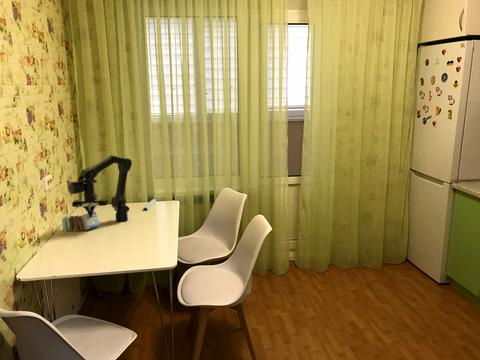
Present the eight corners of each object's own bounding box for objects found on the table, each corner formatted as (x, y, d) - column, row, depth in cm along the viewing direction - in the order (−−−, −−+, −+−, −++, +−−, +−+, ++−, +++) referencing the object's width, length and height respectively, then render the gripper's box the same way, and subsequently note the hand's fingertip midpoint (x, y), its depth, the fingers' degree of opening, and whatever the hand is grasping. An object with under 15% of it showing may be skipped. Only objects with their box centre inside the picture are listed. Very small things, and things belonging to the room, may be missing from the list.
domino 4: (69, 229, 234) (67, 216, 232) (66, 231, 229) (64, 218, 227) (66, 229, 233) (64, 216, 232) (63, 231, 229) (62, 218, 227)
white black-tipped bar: (147, 212, 268) (147, 207, 267) (138, 212, 268) (137, 207, 267) (156, 203, 290) (156, 199, 289) (147, 203, 290) (147, 199, 289)
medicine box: (88, 228, 228) (83, 214, 229) (84, 230, 231) (80, 216, 231) (100, 225, 234) (95, 211, 235) (96, 226, 237) (92, 213, 237)
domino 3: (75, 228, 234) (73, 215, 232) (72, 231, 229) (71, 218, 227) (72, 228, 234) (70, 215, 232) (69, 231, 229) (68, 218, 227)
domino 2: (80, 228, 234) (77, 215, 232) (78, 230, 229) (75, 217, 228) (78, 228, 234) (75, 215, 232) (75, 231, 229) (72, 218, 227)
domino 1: (86, 227, 234) (80, 215, 233) (84, 230, 230) (78, 217, 228) (83, 228, 234) (78, 216, 233) (81, 231, 230) (75, 218, 228)
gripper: (108, 187, 237) (110, 212, 240) (76, 188, 235) (78, 213, 238) (104, 191, 226) (106, 217, 229) (70, 192, 224) (73, 219, 227)
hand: (91, 216), depth 231 cm, fingers closed
